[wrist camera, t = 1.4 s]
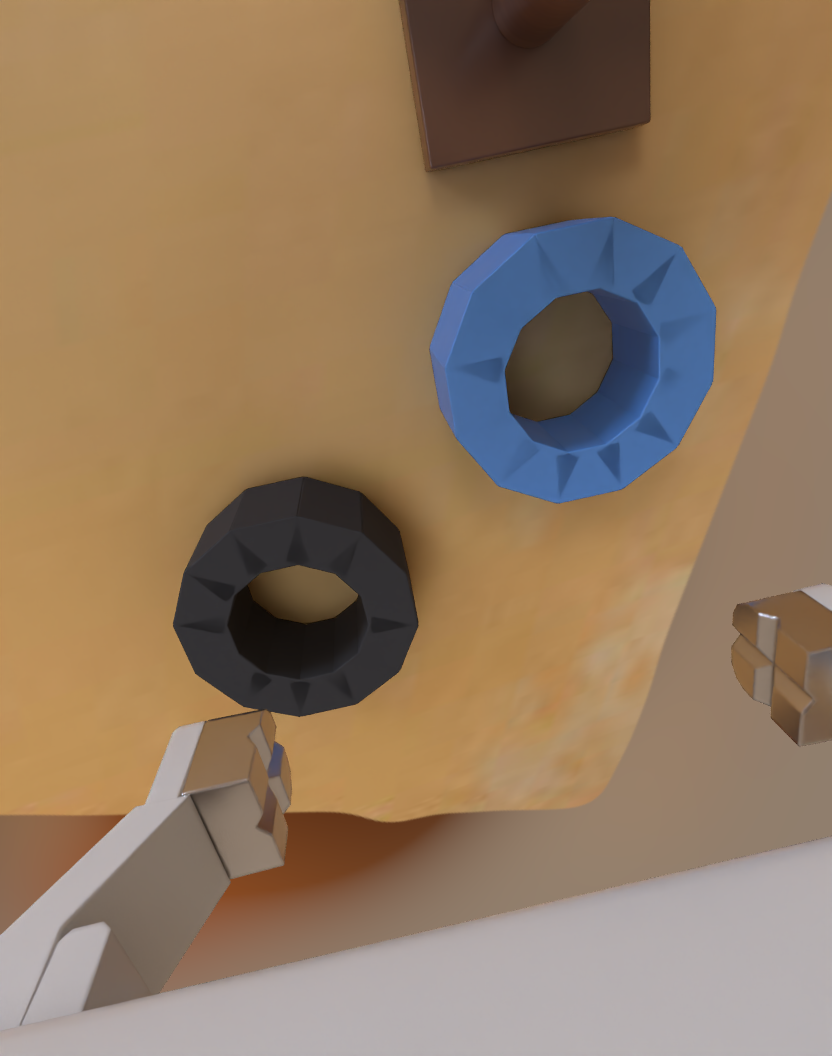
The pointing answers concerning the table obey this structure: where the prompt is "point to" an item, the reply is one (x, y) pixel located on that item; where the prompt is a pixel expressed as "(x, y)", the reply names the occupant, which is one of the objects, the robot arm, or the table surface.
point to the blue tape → (632, 378)
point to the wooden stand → (524, 73)
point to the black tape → (284, 646)
